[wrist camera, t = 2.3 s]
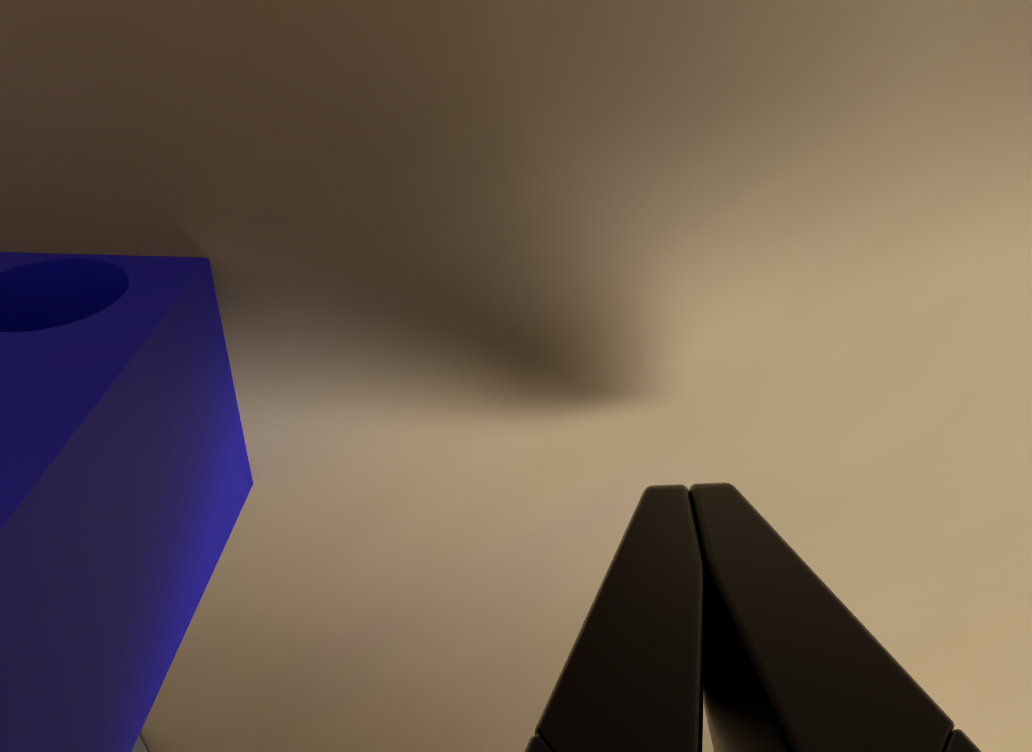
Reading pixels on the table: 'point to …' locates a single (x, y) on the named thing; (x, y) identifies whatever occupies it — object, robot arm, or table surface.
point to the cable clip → (107, 486)
